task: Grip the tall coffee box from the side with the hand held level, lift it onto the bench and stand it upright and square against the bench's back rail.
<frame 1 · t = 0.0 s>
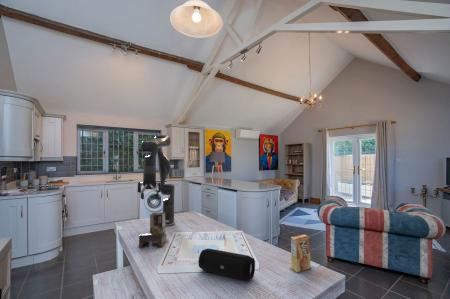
hand: (149, 199, 134), 29 cm above the table, tool pointing down, fingers open, 8 cm apart
candy box: (301, 269, 105), on the table
coffee box: (157, 237, 150), on the table
bench: (153, 244, 137), on the table
portable speaker: (226, 274, 101), on the table
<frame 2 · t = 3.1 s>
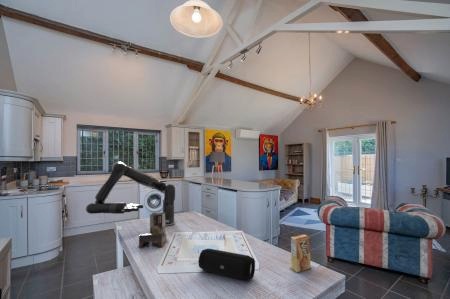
hand: (140, 207, 151), 20 cm above the table, tool horizontal, fingers open, 8 cm apart
nothing on the table moved.
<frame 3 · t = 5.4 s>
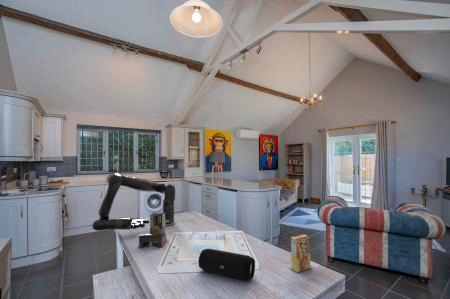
hand: (146, 223, 150), 9 cm above the table, tool horizontal, fingers open, 8 cm apart
nothing on the table moved.
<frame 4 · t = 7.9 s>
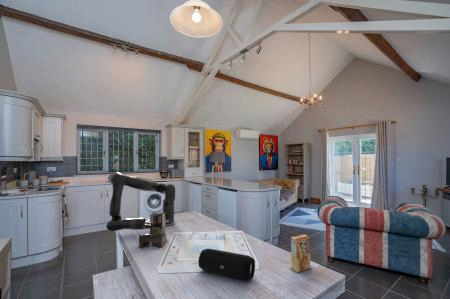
hand: (161, 223, 150), 9 cm above the table, tool horizontal, fingers closed on coffee box, 6 cm apart
coffee box: (157, 237, 150), on the table, touching gripper
everything else where it was.
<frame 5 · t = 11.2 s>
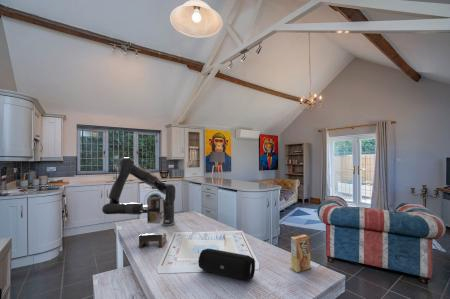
hand: (158, 208, 145), 21 cm above the table, tool horizontal, fingers closed on coffee box, 6 cm apart
coffee box: (155, 222, 145), point 11 cm above the table, touching gripper
everything else where it was.
when the fingers open (14 cm above the table, at t = 14.7 s): coffee box stays where it is, resting on bench.
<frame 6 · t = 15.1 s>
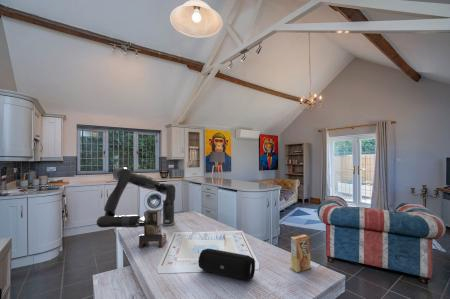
hand: (156, 221, 137), 15 cm above the table, tool horizontal, fingers open, 8 cm apart
coffee box: (152, 236, 137), point 5 cm above the table, touching bench
everything else where it was.
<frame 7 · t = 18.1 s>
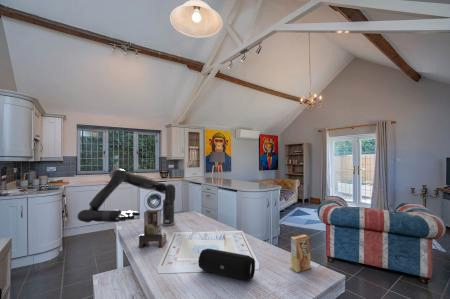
hand: (136, 215, 139), 18 cm above the table, tool horizontal, fingers open, 8 cm apart
nothing on the table moved.
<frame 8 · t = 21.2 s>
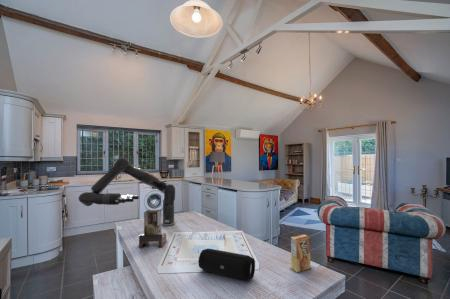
hand: (135, 198, 143), 28 cm above the table, tool horizontal, fingers open, 8 cm apart
nothing on the table moved.
at the end: coffee box inside the target area on the bench (0.1 cm from its centre), point 4.8 cm above the bench's base; coffee box tilted 0°; the gripper is holding nothing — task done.
